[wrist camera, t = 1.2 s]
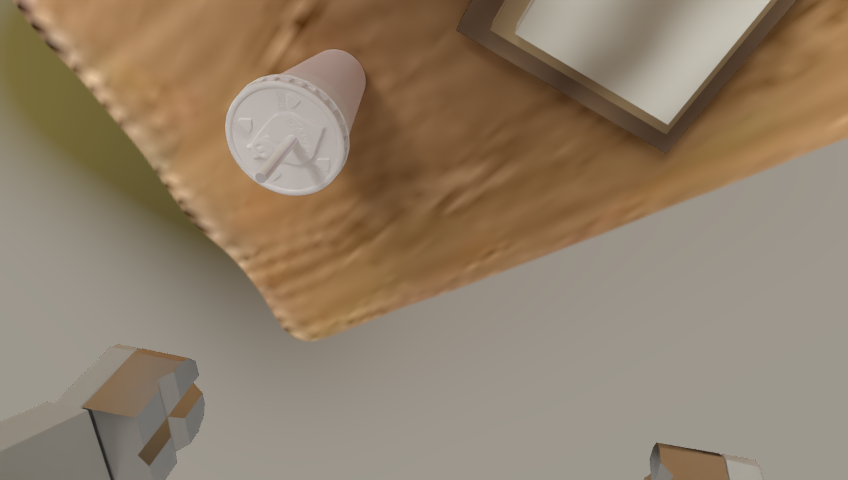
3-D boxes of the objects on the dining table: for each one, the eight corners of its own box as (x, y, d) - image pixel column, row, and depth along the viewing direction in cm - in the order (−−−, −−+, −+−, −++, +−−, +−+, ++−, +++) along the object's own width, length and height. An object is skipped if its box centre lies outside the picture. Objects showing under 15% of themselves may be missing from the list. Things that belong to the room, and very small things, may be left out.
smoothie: (403, 109, 42) (342, 222, 30) (315, 138, 44) (228, 254, 32) (361, 11, 39) (276, 94, 27) (270, 47, 41) (155, 138, 30)
